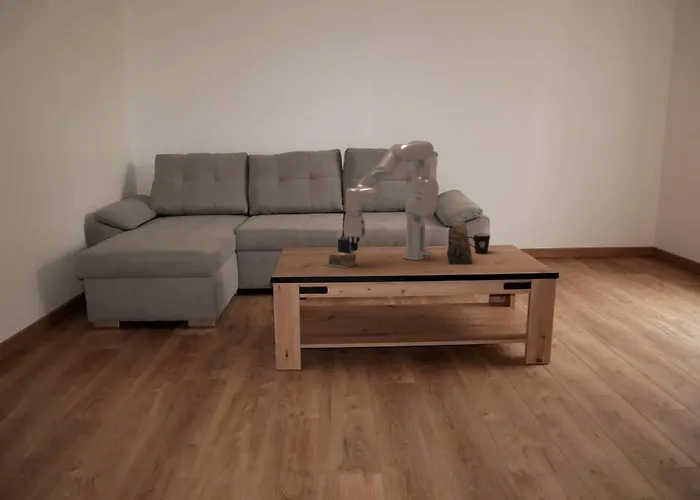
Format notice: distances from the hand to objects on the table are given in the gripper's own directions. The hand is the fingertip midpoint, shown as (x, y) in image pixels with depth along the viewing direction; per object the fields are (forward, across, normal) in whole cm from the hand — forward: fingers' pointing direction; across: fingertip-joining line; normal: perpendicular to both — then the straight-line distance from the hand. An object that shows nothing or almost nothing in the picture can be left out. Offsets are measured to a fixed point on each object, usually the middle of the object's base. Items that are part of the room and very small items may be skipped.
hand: (354, 250), depth 288 cm
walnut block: (+5, +1, 0) cm, 5 cm away
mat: (+8, +8, 0) cm, 11 cm away
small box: (+8, +14, -15) cm, 22 cm away
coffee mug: (+8, -43, -59) cm, 73 cm away
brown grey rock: (+8, -42, -33) cm, 54 cm away
